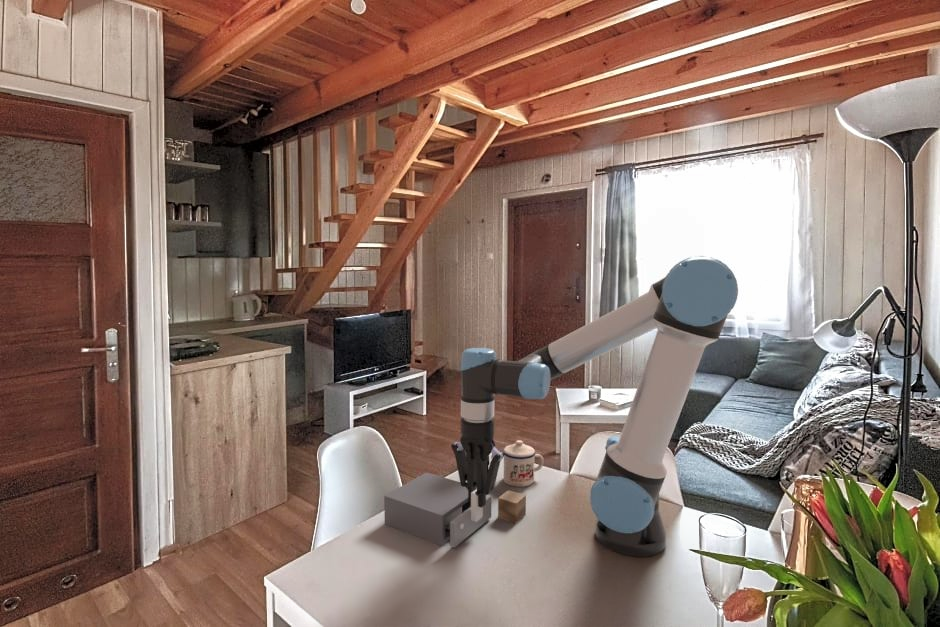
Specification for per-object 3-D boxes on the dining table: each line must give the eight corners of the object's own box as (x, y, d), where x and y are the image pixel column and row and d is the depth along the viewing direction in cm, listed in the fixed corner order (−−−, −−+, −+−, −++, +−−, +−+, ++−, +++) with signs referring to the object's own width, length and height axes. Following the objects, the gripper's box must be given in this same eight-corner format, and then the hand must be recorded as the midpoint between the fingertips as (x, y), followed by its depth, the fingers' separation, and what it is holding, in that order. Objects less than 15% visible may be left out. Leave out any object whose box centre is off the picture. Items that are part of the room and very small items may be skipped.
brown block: (525, 514, 124) (526, 495, 123) (516, 523, 120) (516, 503, 119) (507, 509, 127) (508, 490, 126) (498, 517, 122) (498, 497, 122)
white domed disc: (468, 513, 120) (468, 501, 120) (449, 528, 114) (449, 515, 113) (441, 504, 125) (441, 493, 124) (421, 518, 118) (421, 506, 118)
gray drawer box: (480, 515, 123) (481, 488, 123) (442, 546, 110) (442, 515, 109) (426, 497, 133) (426, 472, 132) (384, 524, 119) (384, 495, 118)
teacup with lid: (508, 489, 138) (509, 448, 137) (498, 475, 146) (499, 437, 145) (549, 484, 141) (550, 444, 140) (536, 471, 150) (537, 433, 148)
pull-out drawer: (493, 517, 121) (493, 496, 121) (456, 548, 108) (456, 524, 108) (433, 498, 131) (433, 478, 130) (393, 524, 118) (392, 502, 117)
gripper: (511, 418, 111) (509, 519, 114) (462, 408, 118) (462, 504, 121) (494, 427, 105) (493, 534, 108) (444, 416, 112) (443, 517, 115)
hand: (476, 518), depth 114 cm, fingers closed
